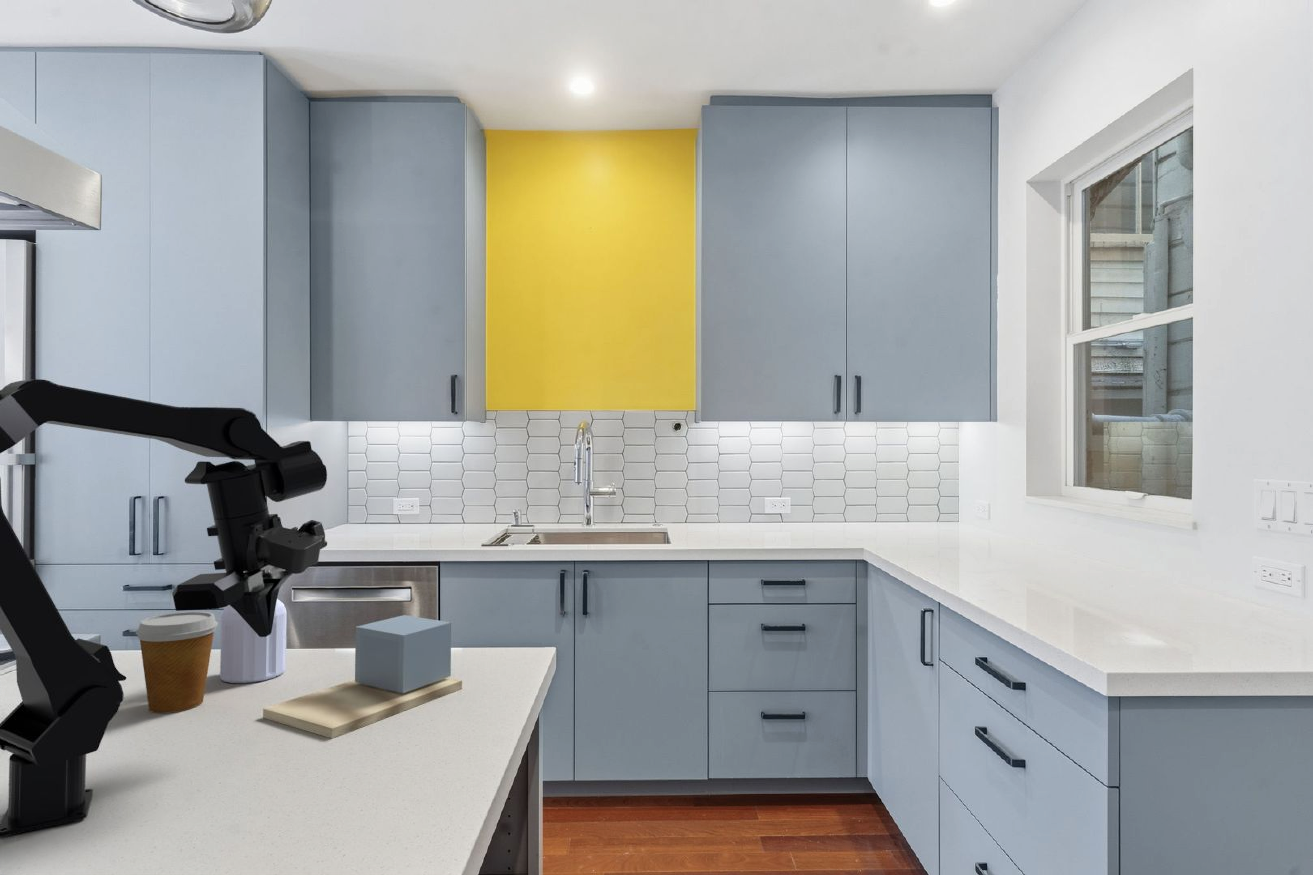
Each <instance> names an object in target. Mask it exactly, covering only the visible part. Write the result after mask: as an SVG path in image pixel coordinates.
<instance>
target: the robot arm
mask: <svg viewBox="0 0 1313 875" xmlns="http://www.w3.org/2000/svg"><path fill="white" fill-rule="evenodd" d="M44 424H48V425H49V424H50V425H56V426H63V427H70V428H78V429H85V430H91V431H97V432H104V433H111V434H118V435H123V436H124V435H125V436H132V437H139V438H146V439H153V440H158V441H160V442H163V443H167V444H169V445H171V446H173V447H176V448H177V449H180V450H183V451H186V452H189V453H192V454H196V455H200V456H202V457H206V458H229V459H231V460H232V461H228V462H224V463H219V464H216V465H215V464H214V463H212V462H211V461H197V463H196V465H195V467H194V469H193V470H192V471H190V472H189V474H188V475H186V477H185V478H184V482H185V484H188V485H189V484H190V485H206V486H207V487H206V488H207V492H208V497H209V501H210V505H211V506H210V507H211V512H212V516H213V522H214V525H211V526H208V527H206V532H207V536H208V537H217V542H218V546H219V547H218V548H219V551H220V552H219V553H220V556H221V557H220V558H219V559H217V560H216V559H215V560H214V561H213V565H214V570H215V571H217V570H218V571H219V570H221V571H222V570H225V572H216V573H199V574H197V575H195V576H193V577H191V578H190V579H188V580H185V581H183V582H181V583H179V584H177V585H176V587H175V588H174V590H173V591H172V593H171V594H172V599H173V604H174V609H175V611H176V612H182V611H183V612H185V611H200V610H218V609H222V608H226V607H227V606H228V605H230V606H231V607H232V608H233V609H234V610H236V611H237V612H238V614H239V615H240V616H241V617H242V618H243V619H244V620H245V621H246V622H247V623H248V625H249V626H250V627H251V628H252V629H253V630H254V631H255V632H256V634H257V635H258V636H259V637H267V636H268V635H270V634H271V632H272V626H273V620H274V614H275V608H276V602H277V599H278V596H279V592H280V589H281V587H282V586H283V585H284V583H285V582H286V581H287V580H288V578H290V577H291V576H292V575H293V574H294V575H298V574H302V573H304V572H305V571H306V569H308V568H310V567H311V566H315V565H317V564H318V563H319V558H320V554H321V552H320V551H321V550H323V549H324V548H326V547H327V546H328V541H327V540H326V533H325V529H324V526H323V524H322V522H321V521H317V520H314V519H310V520H309V521H307V522H304V523H302V525H301V526H300V527H299V528H298V527H297V526H294V527H292V528H287V527H283V525H282V524H283V523H282V519H281V517H280V516H278V513H271V514H270V512H269V511H270V510H269V506H268V501H267V498H268V499H270V500H271V501H272V502H275V503H281V502H283V501H286V500H287V501H288V500H291V499H294V498H297V497H301V496H305V495H308V494H311V493H315V492H319V491H321V490H322V489H324V488H325V486H326V483H327V480H328V472H327V471H328V469H327V466H326V465H325V464H324V463H323V462H324V461H323V460H322V458H321V456H320V455H319V454H318V453H317V452H316V451H315V450H313V449H312V443H311V441H309V440H298V441H294V442H291V443H289V444H287V445H282V446H281V445H280V444H279V443H278V442H277V441H276V440H275V439H274V438H272V437H271V435H270V434H268V433H267V431H265V430H264V428H262V425H261V422H260V420H259V419H258V417H257V415H256V413H254V412H253V411H251V410H249V409H246V408H243V407H222V406H221V407H217V406H215V407H213V406H211V407H209V406H208V407H207V406H206V407H205V406H204V407H201V406H199V407H197V406H196V407H195V406H188V407H186V406H174V405H169V404H168V405H167V404H163V403H158V402H152V401H147V400H142V399H136V398H131V397H126V396H121V395H116V394H110V393H105V392H100V391H99V392H98V391H94V390H87V389H81V388H78V387H77V388H76V387H71V386H66V385H60V384H57V383H56V382H55V383H54V382H53V381H50V380H47V379H40V378H38V379H36V378H35V379H26V380H25V379H24V380H18V381H13V382H10V383H9V384H7V385H5V386H3V388H2V389H0V454H2V453H5V451H7V450H8V449H11V448H12V447H14V446H16V445H17V444H18V443H19V442H21V441H22V440H23V439H25V438H26V437H27V436H28V435H30V434H32V432H33V431H35V430H36V429H38V428H39V427H40V426H42V425H44ZM233 460H234V461H233ZM238 460H241V461H242V460H245V461H247V460H248V461H251V460H252V461H254V463H253V464H249V465H245V464H244V463H243V462H241V461H238ZM1 480H2V479H1V477H0V632H1V633H2V635H3V637H4V639H5V640H6V642H7V644H8V645H9V647H10V649H11V651H12V652H13V653H14V658H15V665H16V666H15V667H16V684H17V687H18V691H19V694H20V697H21V700H22V701H20V703H19V704H17V706H16V707H15V708H14V709H12V711H11V712H10V713H9V714H8V715H7V716H6V717H5V718H4V719H3V720H2V721H1V722H0V750H2V751H7V752H9V753H11V755H10V756H9V758H8V762H9V763H8V797H7V799H8V805H7V806H8V807H7V809H6V811H5V813H4V815H3V817H2V819H1V820H0V838H1V837H6V836H11V835H16V834H20V833H24V832H30V831H34V830H35V831H36V830H39V829H43V828H48V827H53V826H54V827H55V826H58V825H63V824H64V825H65V824H67V823H72V822H77V821H78V822H79V821H81V820H84V819H86V818H88V817H87V816H88V813H89V809H90V806H91V803H92V799H93V795H94V788H86V773H87V772H86V770H87V768H86V767H87V755H88V754H91V753H95V752H96V751H99V747H100V745H101V743H102V740H103V738H104V735H105V733H106V730H107V727H108V724H109V722H110V721H111V720H112V719H113V718H114V717H115V715H116V714H117V712H118V711H119V709H120V706H121V704H122V703H123V702H124V698H125V697H124V695H125V694H124V690H123V687H122V684H121V683H120V682H123V681H125V680H127V677H126V675H124V674H123V673H120V671H119V670H118V669H117V667H116V665H115V662H114V659H113V658H114V657H113V655H112V652H111V650H110V648H109V647H108V646H107V645H105V644H103V643H102V644H101V643H97V642H93V641H90V640H86V639H82V638H75V637H74V636H73V635H72V633H71V632H70V630H69V628H68V626H67V624H66V622H65V621H64V619H63V617H62V615H61V614H60V612H59V610H58V608H57V606H56V604H55V603H54V600H53V599H52V597H51V596H50V594H49V591H48V590H47V588H46V586H45V585H44V583H43V581H42V579H41V577H40V576H39V574H38V572H37V571H36V570H37V569H36V568H35V567H34V565H33V563H32V561H31V560H30V558H29V556H28V554H27V552H26V551H25V549H24V547H23V545H22V543H21V541H20V540H19V537H18V536H17V534H16V532H15V530H14V528H13V527H12V525H11V523H10V522H9V520H8V518H7V516H6V515H5V511H4V510H3V505H2V502H3V501H2V482H1Z"/></svg>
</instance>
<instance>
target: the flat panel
mask: <svg viewBox="0 0 1313 875" xmlns="http://www.w3.org/2000/svg"><path fill="white" fill-rule="evenodd" d="M462 689H463V680H462V679H457V678H451V677H447V678H444V679H442V680H439V681H436V682H433V683H430V684H428V685H425V686H422V687H419V688H416V689H414V690H411V691H408V692H405V693H400V692H396V691H391V690H387V689H383V688H379V687H374V686H370V685H366V684H362V683H357V682H355V679H352V680H350V681H347V682H344V683H339V684H337V685H334V686H330V687H327V688H324V689H321V690H318V691H315V692H314V691H313V692H311V693H308V694H305V695H302V696H299V697H296V698H292V699H288V700H286V701H283V702H280V703H276V704H273V705H270V706H267V707H264V708H262V718H263V719H266V720H269V721H273V722H276V723H280V724H283V725H286V726H289V727H293V728H295V729H299V730H301V731H302V730H303V731H307V732H310V733H312V734H317V735H320V736H324V737H327V738H329V739H335V738H337V737H340V736H342V735H346V734H348V733H349V732H353V731H356V730H359V729H360V728H363V727H366V726H369V725H371V724H374V723H377V722H379V721H381V720H384V719H387V718H389V717H392V716H395V715H398V714H400V713H402V712H405V711H408V710H410V709H412V708H415V707H418V706H420V705H421V706H422V705H423V704H426V703H428V702H431V701H434V700H437V699H438V698H442V697H443V696H447V695H449V694H451V693H454V692H456V691H459V690H462Z"/></svg>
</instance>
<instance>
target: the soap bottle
mask: <svg viewBox="0 0 1313 875" xmlns="http://www.w3.org/2000/svg"><path fill="white" fill-rule="evenodd" d="M287 616H288V615H287V609H286V606H285V603H283V602H282V601H281V600H279V598H277V602H276V608H275V614H274V620H273V626H272V632H271V634H270V635H268V636H267V637H259V636H258V635H257V634H256V632H255V631H254V630H253V629H252V628H251V627H250V626H249V625H248V623H247V622H246V621H245V620H244V619H243V618H242V617H241V616H240V615H239V614H238V612H237V611H236V610H234V609H233V608H232V607H231V606H230V605H228V606H226V607H224V609H223V611H222V613H221V616H220V620H221V621H220V659H219V660H220V663H219V664H220V666H219V667H220V668H219V672H220V673H219V678H220V680H222V682H226V683H230V684H231V683H232V684H248V683H257V681H258V682H263V681H267V680H271V679H274V678H276V676H277V677H279V676H281V675H282V674H283V673H285V671H286V668H287V625H288V624H287Z"/></svg>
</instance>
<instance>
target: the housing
mask: <svg viewBox="0 0 1313 875" xmlns="http://www.w3.org/2000/svg"><path fill="white" fill-rule="evenodd" d="M354 647H355V650H354V651H355V653H354V655H355V656H354V658H355V661H354V680H355V682H357V683H362V684H366V685H370V686H374V687H379V688H383V689H387V690H391V691H396V692H400V693H405V692H408V691H411V690H414V689H416V688H419V687H422V686H425V685H428V684H430V683H433V682H436V681H439V680H442V679H444V678H447V677H448V678H451V677H452V676H451V675H452V674H451V672H452V668H451V667H452V663H451V662H452V622H449V621H443V620H436V619H431V618H427V617H426V618H425V617H419V616H412V615H408V614H407V615H406V614H404V615H399V616H394V617H391V618H386V619H383V620H378V621H375V622H369V623H366V624H361V625H357V626H355V645H354Z"/></svg>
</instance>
